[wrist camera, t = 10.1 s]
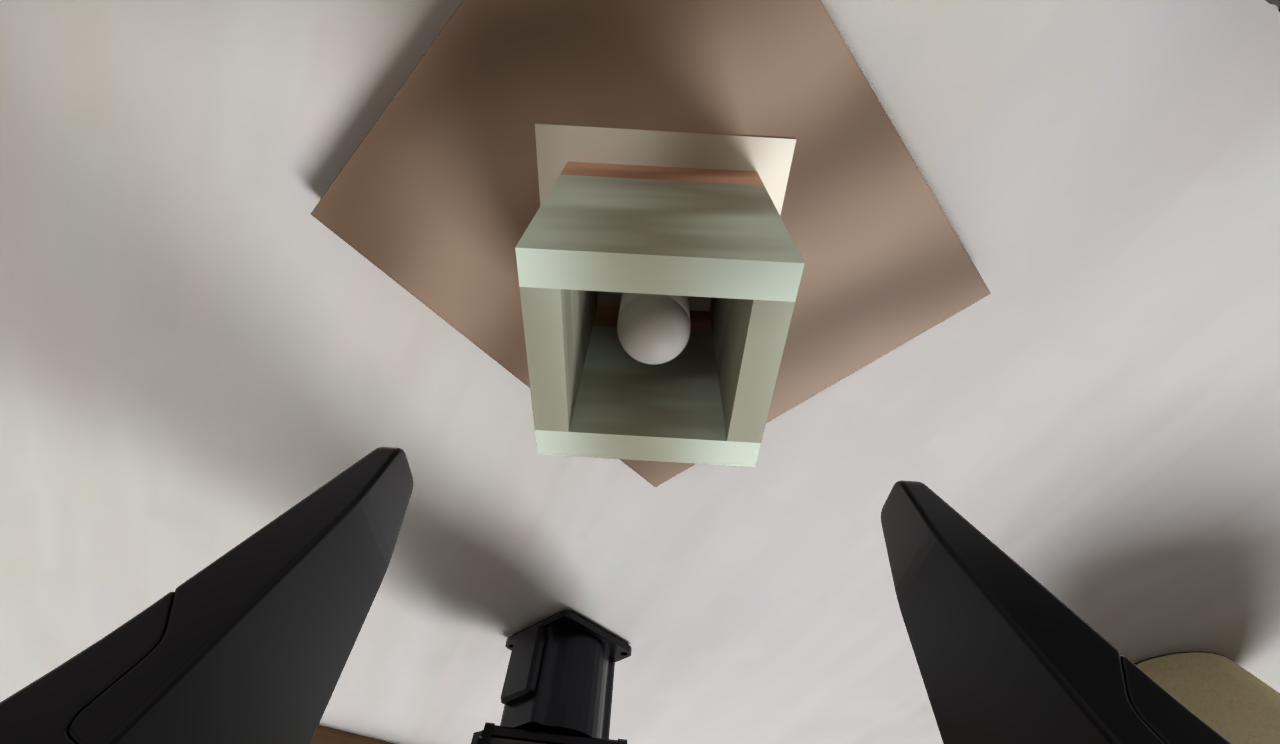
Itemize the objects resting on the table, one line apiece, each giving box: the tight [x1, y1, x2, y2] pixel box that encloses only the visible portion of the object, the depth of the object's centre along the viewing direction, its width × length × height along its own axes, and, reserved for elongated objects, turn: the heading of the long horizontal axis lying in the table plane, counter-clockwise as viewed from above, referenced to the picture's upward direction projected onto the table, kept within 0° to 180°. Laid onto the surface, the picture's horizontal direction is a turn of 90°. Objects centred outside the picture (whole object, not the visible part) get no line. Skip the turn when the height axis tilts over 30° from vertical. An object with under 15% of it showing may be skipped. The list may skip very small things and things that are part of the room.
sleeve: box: [515, 162, 805, 467], centre depth 15 cm, size 6×6×7 cm
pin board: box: [311, 0, 991, 487], centre depth 16 cm, size 18×16×7 cm
